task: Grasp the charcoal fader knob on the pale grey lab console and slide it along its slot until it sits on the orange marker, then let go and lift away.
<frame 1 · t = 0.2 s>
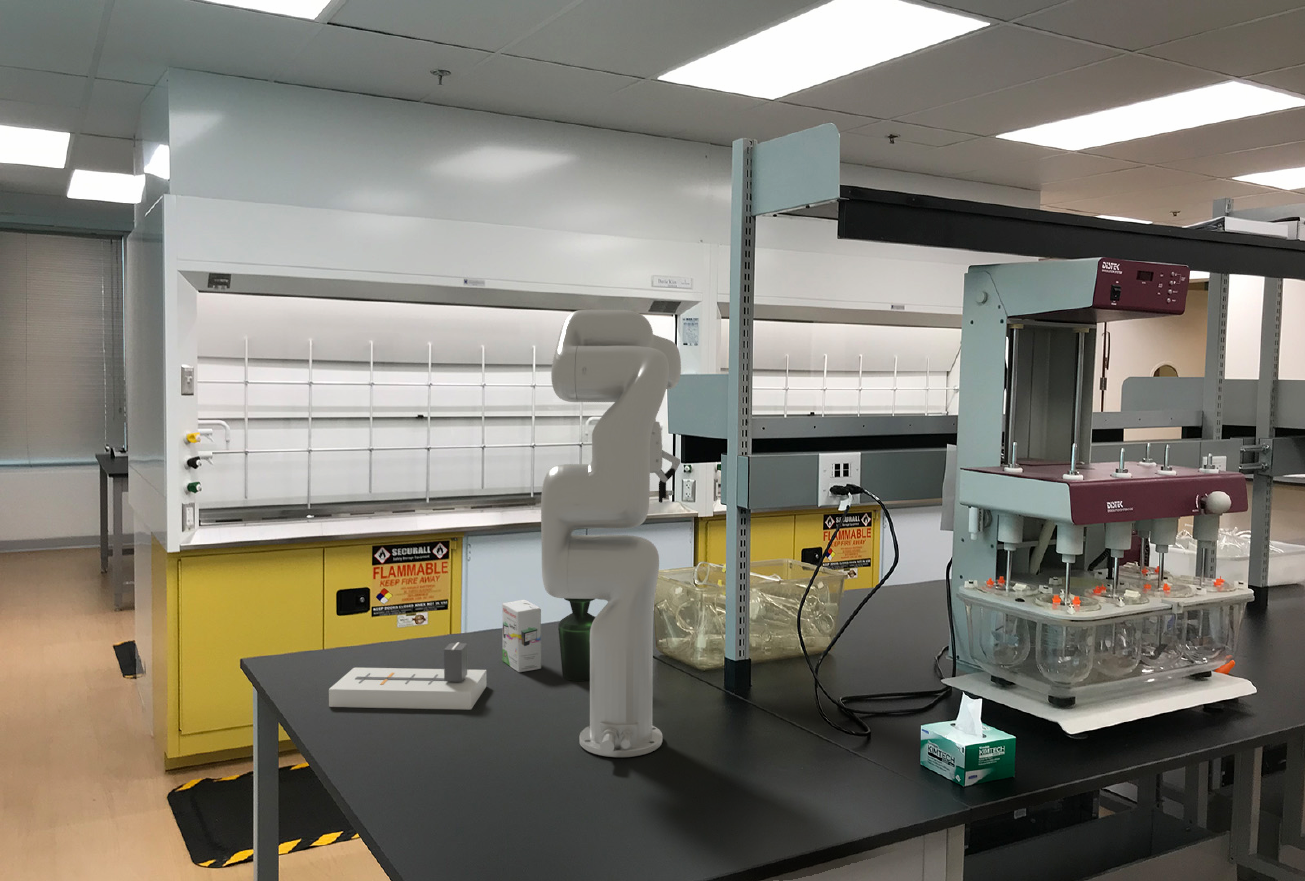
hand: (636, 501, 187), 31 cm above the countertop, fingers open, 9 cm apart
potion bottle: (580, 676, 177), on the countertop
fader knob: (455, 661, 164), point 6 cm above the countertop, slide at 0.0 cm
console: (410, 696, 165), on the countertop
ink box: (521, 666, 183), on the countertop
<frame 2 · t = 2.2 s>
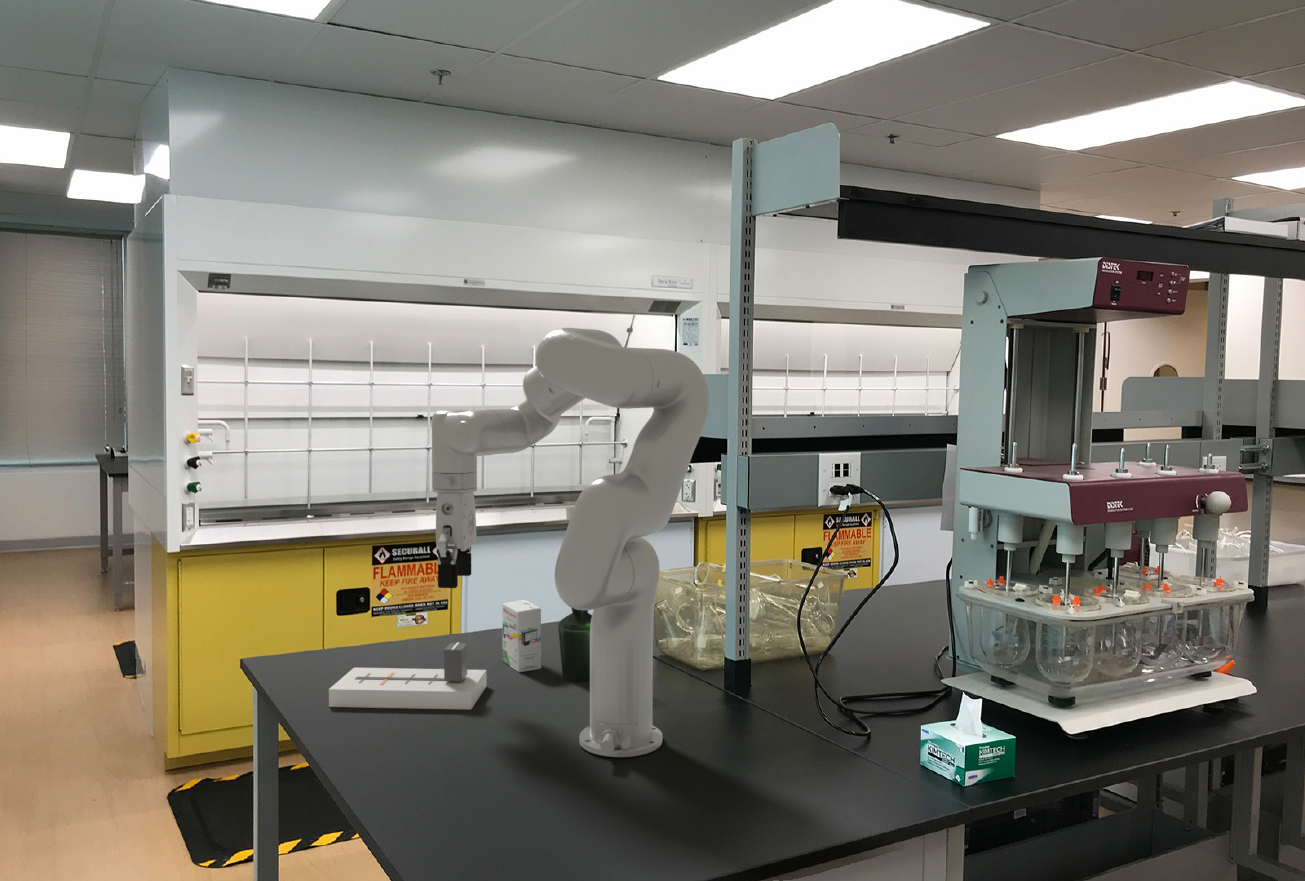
hand: (455, 581, 164), 20 cm above the countertop, fingers open, 9 cm apart
nothing on the countertop moved.
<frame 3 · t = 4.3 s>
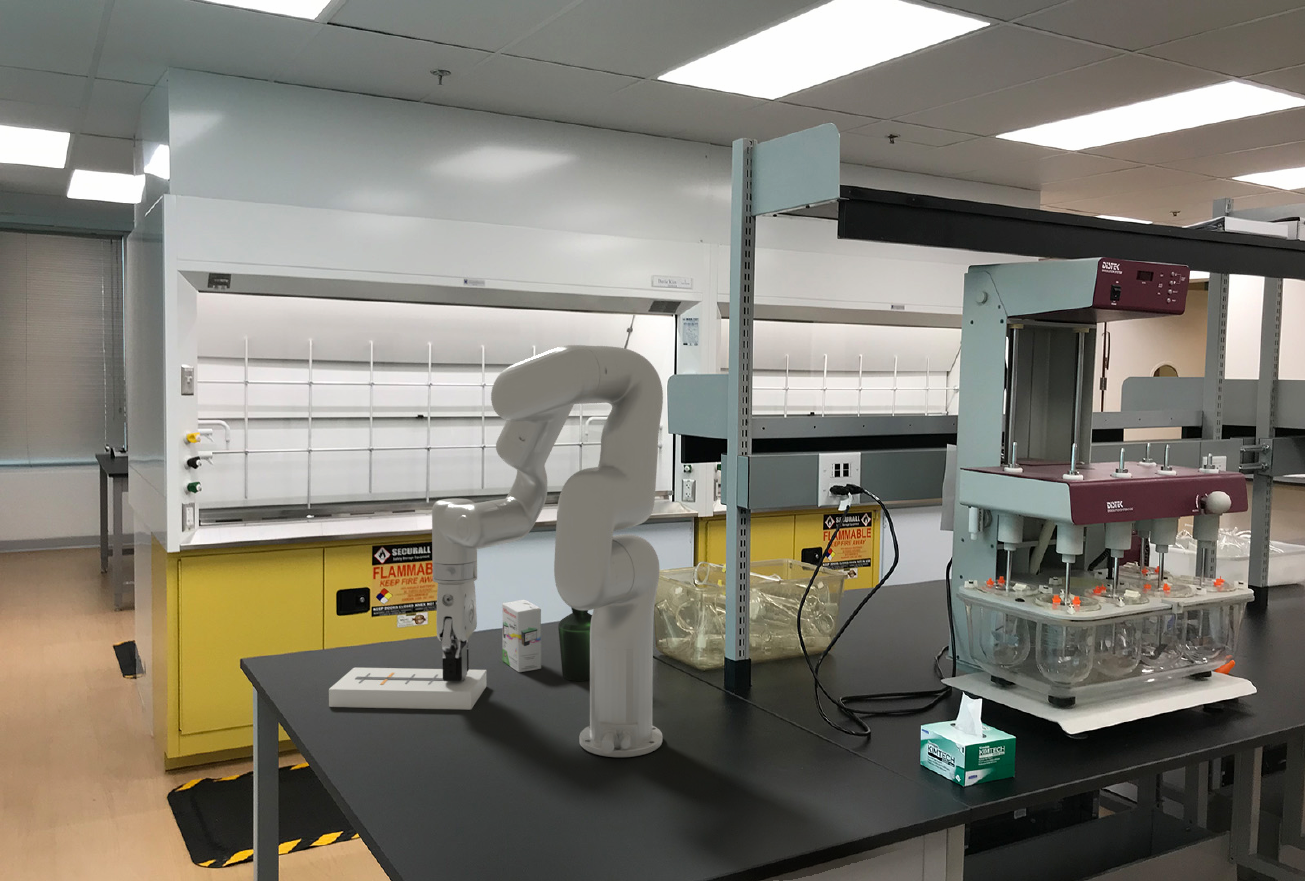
hand: (455, 674, 165), 4 cm above the countertop, fingers closed on fader knob, 4 cm apart
fader knob: (455, 661, 164), point 6 cm above the countertop, slide at 0.0 cm, touching gripper
everything else where it was.
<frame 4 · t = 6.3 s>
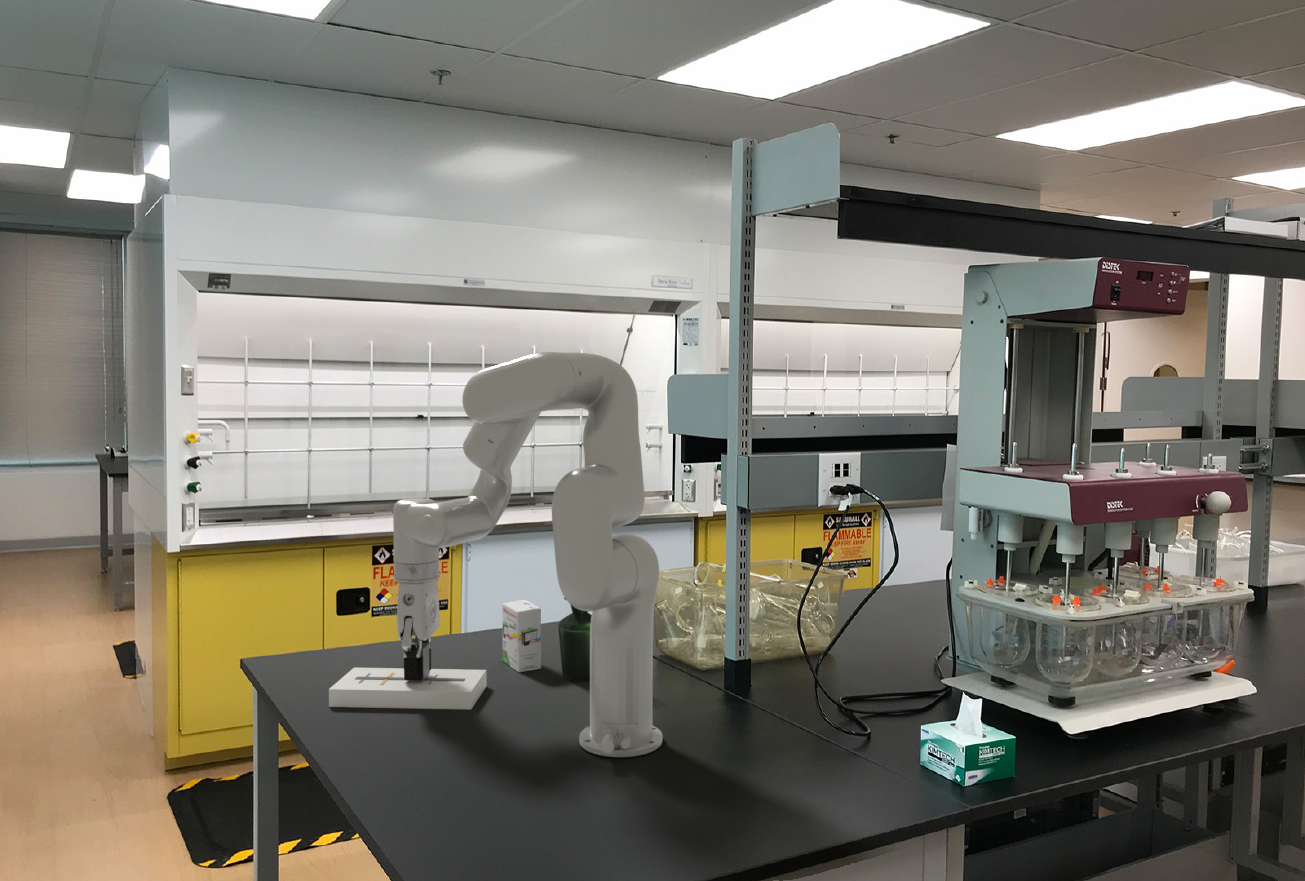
hand: (417, 674, 165), 4 cm above the countertop, fingers closed on fader knob, 4 cm apart
fader knob: (417, 661, 165), point 6 cm above the countertop, slide at 6.7 cm, touching gripper
everything else where it was.
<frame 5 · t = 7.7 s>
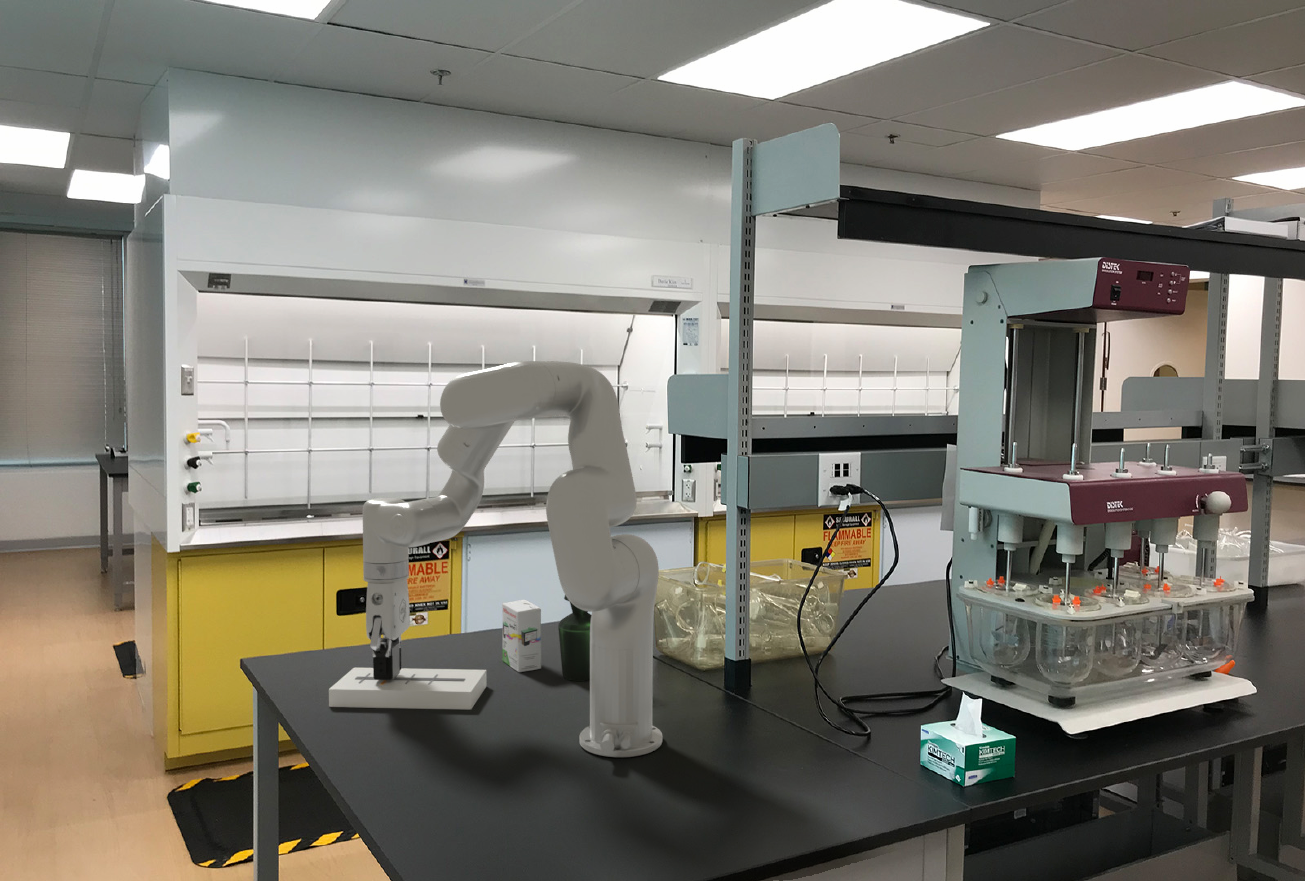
hand: (387, 673, 165), 4 cm above the countertop, fingers closed on fader knob, 4 cm apart
fader knob: (387, 660, 165), point 6 cm above the countertop, slide at 11.9 cm, touching gripper
everything else where it was.
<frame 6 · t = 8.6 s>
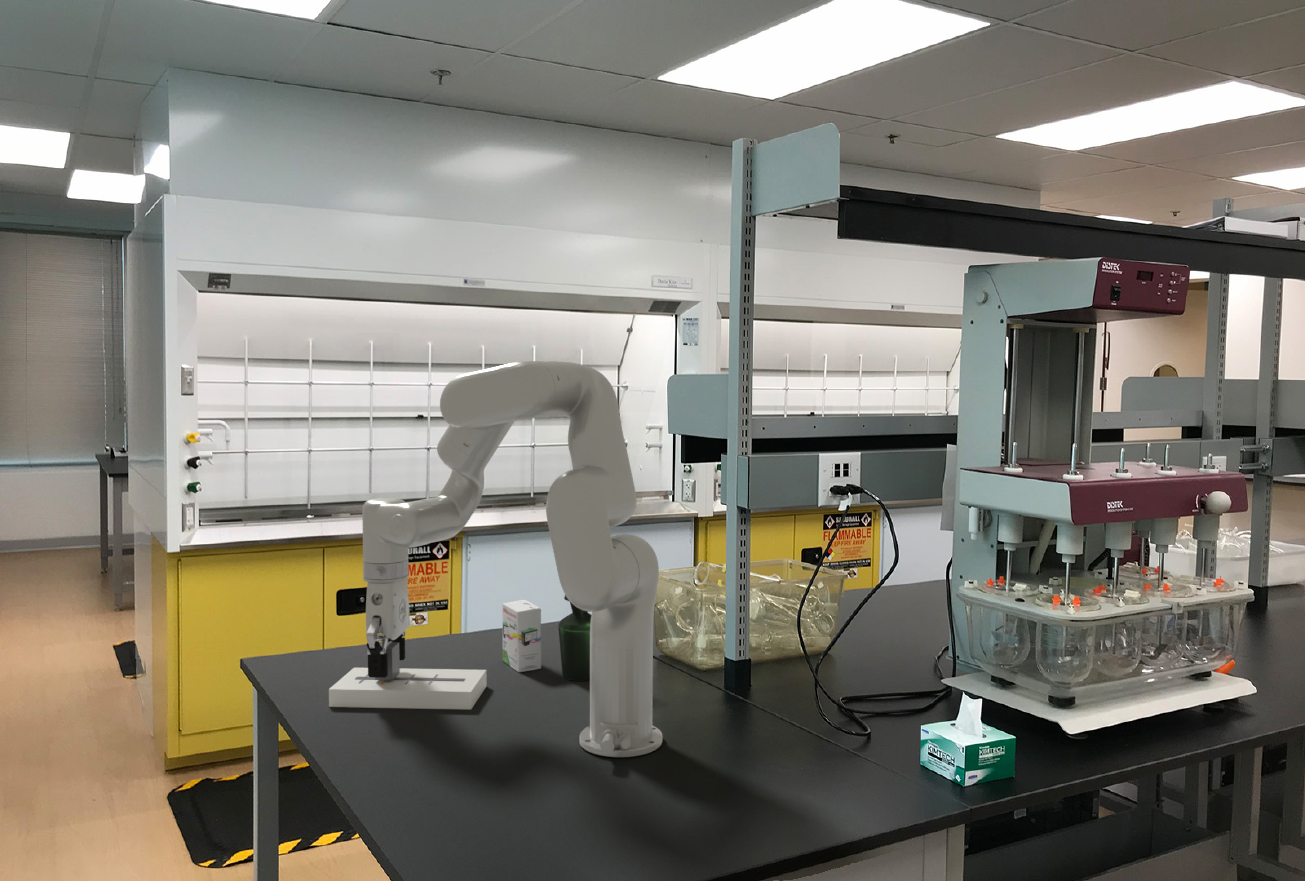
hand: (387, 668, 165), 5 cm above the countertop, fingers open, 9 cm apart
fader knob: (387, 660, 165), point 6 cm above the countertop, slide at 12.0 cm
everything else where it was.
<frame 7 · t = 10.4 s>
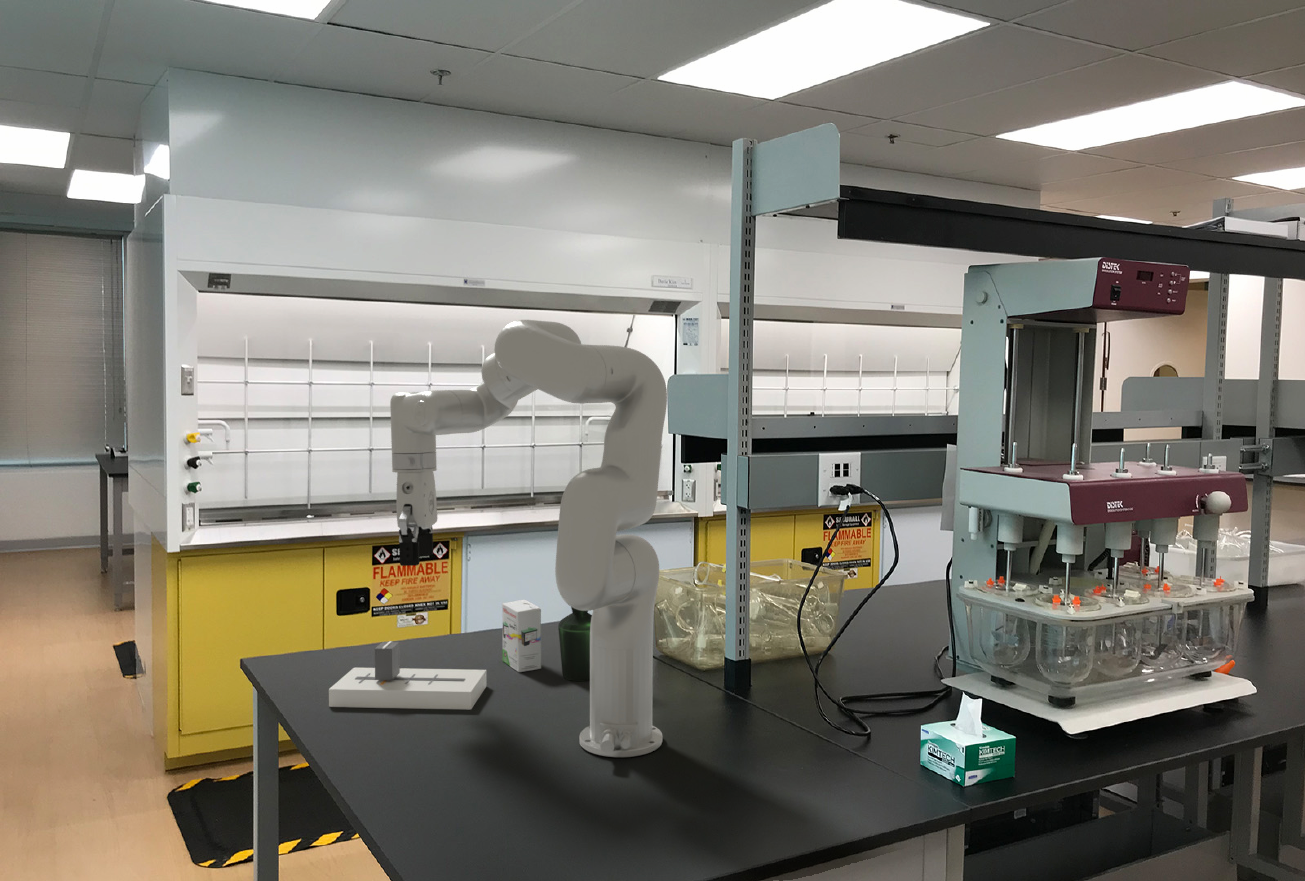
hand: (417, 560, 167), 23 cm above the countertop, fingers open, 9 cm apart
nothing on the countertop moved.
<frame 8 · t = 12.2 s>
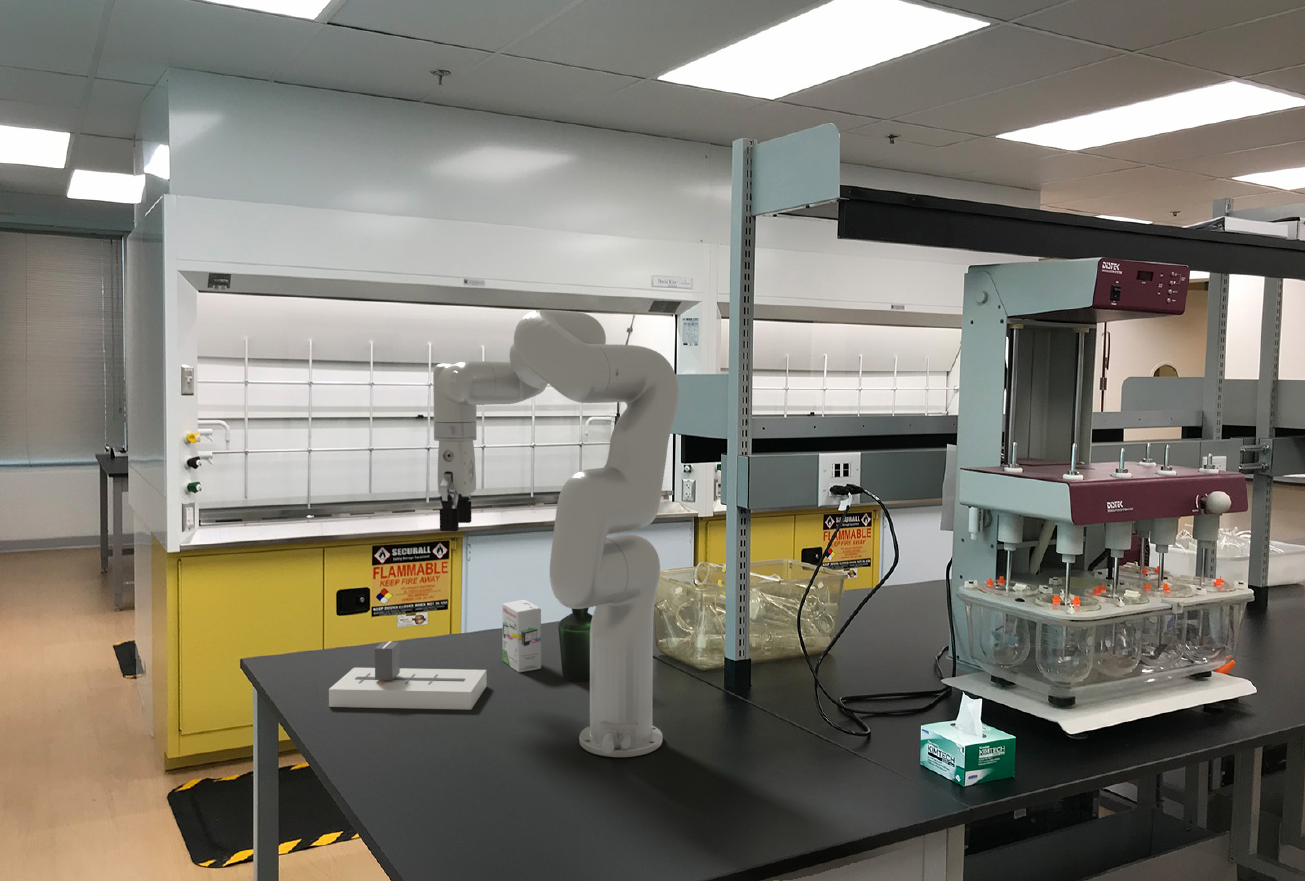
hand: (456, 526, 172), 28 cm above the countertop, fingers open, 9 cm apart
nothing on the countertop moved.
at the end: fader knob slide at 12.0 cm; ink box moved 0.3 cm from its start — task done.
